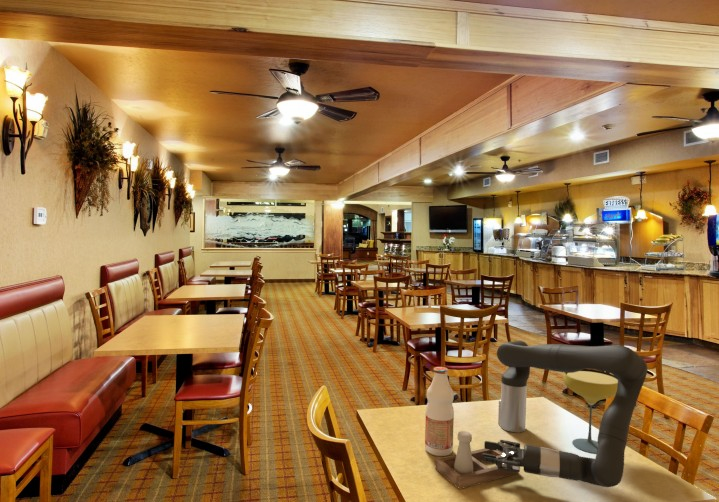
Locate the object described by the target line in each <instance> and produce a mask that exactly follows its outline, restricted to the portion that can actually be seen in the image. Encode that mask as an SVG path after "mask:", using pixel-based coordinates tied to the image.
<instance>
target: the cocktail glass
mask: <svg viewBox="0 0 719 502" xmlns="http://www.w3.org/2000/svg"><path fill="white" fill-rule="evenodd" d="M563 383H564V385H565V386H566V388H568V389H569V390H570V391H572V392H573V393H575V394H577V395H578V396H580V397H582V398H583V399H584V400H585V402H586V403H587V404H588V405H589V416H588V417H589V419H588V435H587V438H575V439H573V440H572V442H571V443H572V445H573V446H574V447H575V448H576V449H578V450H580V451H583V452H586V453H590V454H597V449H598V440H597V441H596V440H593V439H592V415H593V413H592V411H593V405H596V403H598V402H599V401H601V400H607V399H611V398H614V397H615V395H616V392H617V386H618V378H617V377H616V376H614V375H613V374H611V373H609V372H606V371H602V370H596V369H583V370H580V371H578V372H573V373H566V372H563Z"/></svg>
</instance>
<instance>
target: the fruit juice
mask: <svg viewBox="0 0 719 502" xmlns="http://www.w3.org/2000/svg"><path fill="white" fill-rule="evenodd" d="M448 375H449V368H447V367H443V366H435V367H433V378H432V380H431V384H430V385H429V386H428V388H427V390H426V398H427V403H426V406H425V427H424V428H425V430H424V449H425V451H426V452H427V453H429V454H430V455H433V456H436V457H448V456H449V455H452V453H453V449H454V421H455V420H454V419H455V418H454V417H455V414H454V413H455V412H454V411H455V410H454V406H453V401H454V397H455V394H454V390H453V389H452V387H451V385H450V384H451V383H450V380H449V377H448Z"/></svg>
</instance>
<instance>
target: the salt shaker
mask: <svg viewBox="0 0 719 502" xmlns="http://www.w3.org/2000/svg"><path fill="white" fill-rule="evenodd" d="M457 440H458V441H459V442H458V446H457V451H456V454H455V455H456V459H455V463H454V468H453V470H455V471H456V472H457V473H459V474H460V475H464V474H468V473H472V472H474V471H473V462H472V455H471V451H472V448H471V442H472V440H473V436H472V433H470V432H469V431H466V430H460V431H459V432H458V433H457Z"/></svg>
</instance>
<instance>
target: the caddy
mask: <svg viewBox="0 0 719 502" xmlns="http://www.w3.org/2000/svg"><path fill="white" fill-rule="evenodd" d="M483 453H485V454H491V455H495V457H496V456H499V455H502V453H501V452H499V451H495V450H490V449H485V448H480V449H475V450H471V455H472V462H473V472H472V473H468V474H464V475H460V474H459V473H457V472H456V471H455V469H454V463H455V459H456V455H457V454H454V455H451V456H449V455H448V456H444V457H441V458H437V459H435V470H436V471H437V472H438V471H439V474H441V475H442V476H443V477H444V476H445V477H444V478H445V479H447V480H448V481H449V480H450V481H451V482H450V481H449V482H450V483H451V484H453V483H454V484H455V485H456V486H457V487H456V486H455V485H454V484H453V485H454V486H455V487H456V488H458V487H459V488H462V489H464V488H463V487H466V488H468V487H467V486H469V487H472V486H471V485H473V486H477V485H480V484H485V483H487V482H491V481H495V480H499V479H502V478H505V477H511V476H513V475H517V474H519V473H520V472H512V471H506V470H500V469H498V468H497V467H498V466H496V465H495V466H492V467H488V466H487V465H486V464H483V461H482V454H483ZM502 466H504V465H502ZM504 467H505V466H504ZM511 467H512V466H511ZM479 483H480V484H479ZM476 484H477V485H476ZM459 488H458V489H459Z"/></svg>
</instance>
